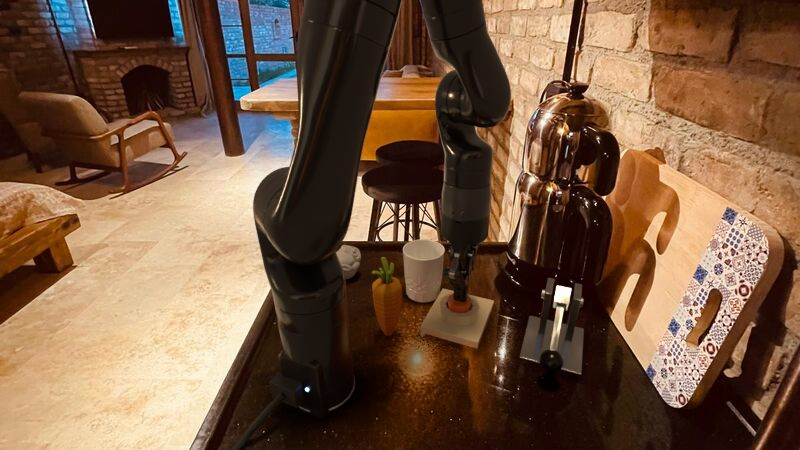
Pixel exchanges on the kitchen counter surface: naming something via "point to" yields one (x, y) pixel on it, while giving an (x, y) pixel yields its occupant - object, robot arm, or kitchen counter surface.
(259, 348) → the kitchen counter surface
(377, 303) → the carrot
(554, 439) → the kitchen counter surface
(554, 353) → the lever
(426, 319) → the control block
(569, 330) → the bracket
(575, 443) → the kitchen counter surface
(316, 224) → the robot arm
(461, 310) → the button
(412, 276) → the white cup
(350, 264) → the frog figurine
